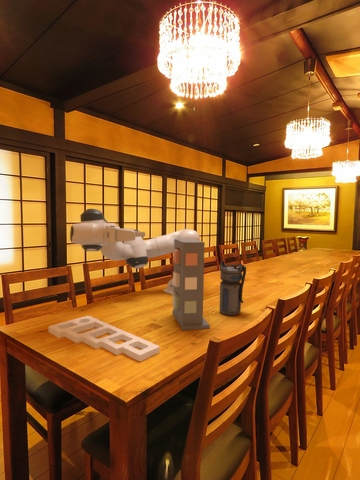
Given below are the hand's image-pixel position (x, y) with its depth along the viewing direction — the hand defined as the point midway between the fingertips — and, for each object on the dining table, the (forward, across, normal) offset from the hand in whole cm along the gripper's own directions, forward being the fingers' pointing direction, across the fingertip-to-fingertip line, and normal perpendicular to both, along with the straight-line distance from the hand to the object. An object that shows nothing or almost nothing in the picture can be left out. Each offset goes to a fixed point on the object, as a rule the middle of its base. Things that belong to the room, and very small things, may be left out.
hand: (144, 234), depth 125 cm
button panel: (+21, 0, -39) cm, 44 cm away
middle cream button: (+16, 0, -23) cm, 28 cm away
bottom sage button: (+16, 0, -33) cm, 36 cm away
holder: (-18, +16, -40) cm, 46 cm away
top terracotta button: (+16, 0, -13) cm, 20 cm away
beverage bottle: (+43, -7, -39) cm, 58 cm away
